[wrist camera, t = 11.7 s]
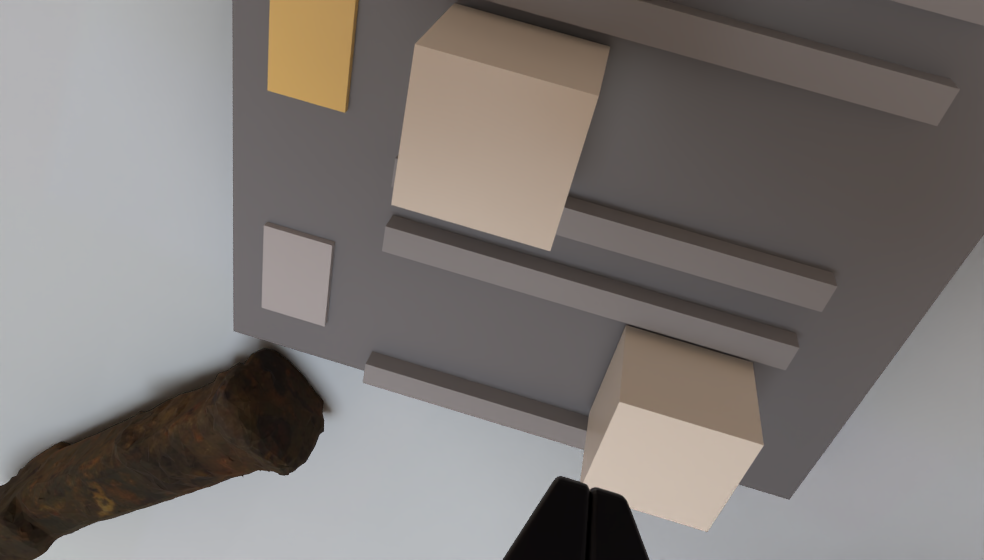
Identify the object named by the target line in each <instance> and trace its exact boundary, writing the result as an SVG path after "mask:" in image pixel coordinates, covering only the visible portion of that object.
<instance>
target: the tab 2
mask: <svg viewBox="0 0 984 560" xmlns="http://www.w3.org/2000/svg"><path fill="white" fill-rule="evenodd" d="M763 446H764V443H763V436H762V428H761V421H760V413H759V406H758V398H757V391H756V384H755V376H754V369H753V362H749V361H746V360H743V359H739V358H736V357H732V356H729V355H726V354H722V353H719V352H716V351H712V350H709V349H705V348H702V347H699V346H695V345H692V344H689V343H685V342H682V341H678V340H675V339H672V338H668V337H665V336H662V335H658V334H655V333H651V332H648V331H645V330H641V329H638V328H635V327H631V326H628V325H626V326H625V329H624V331H623V334H622V336H621V338H620V341H619V343H618V345H617V348H616V350H615V353H614V355H613V357H612V360H611V362H610V365H609V367H608V369H607V372H606V374H605V376H604V379H603V381H602V384H601V386H600V388H599V391H598V393H597V396H596V398H595V400H594V403H593V405H592V407H591V410H590V412H589V418H588V426H587V434H586V441H585V449H584V456H583V464H582V471H581V479H580V482H582V483H585V484H587V485H588V487H589V489H591V488H593V487H598V488H601V489H605V490H608V491H611V492H614V493H618V494H620V495H622V496H623V497H624V498H625V499H626V500H627V502H628V504H629V507H630V508H631V509H634V510H637V511H641V512H644V513H647V514H650V515H654V516H657V517H660V518H663V519H667V520H670V521H673V522H676V523H680V524H683V525H686V526H689V527H693V528H696V529H699V530H702V531H706V532H708V530H709V529H710V527H711V526H712V524H713V522H714V521H715V519H716V518H717V516H718V515H719V513H720V512H721V510H722V509H723V507H724V506H725V504H726V503H727V501H728V499H729V498H730V496H731V495H732V493H733V492H734V490H735V489H736V487H737V486H738V484H739V483H740V481H741V480H742V478H743V476H744V475H745V473H746V472H747V470H748V469H749V467H750V466H751V464H752V463H753V461H754V460H755V458H756V457H757V455H758V453H759V452H760V450H761V449H762V447H763Z"/></svg>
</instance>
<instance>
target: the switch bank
mask: <svg viewBox="0 0 984 560" xmlns="http://www.w3.org/2000/svg"><path fill="white" fill-rule="evenodd" d="M454 3H456V4H460V5H463V6H467V7H470V8H474V9H477V10H481V11H485V12H488V13H492V14H495V15H499V16H503V17H506V18H510V19H513V20H517V21H520V22H524V23H528V24H531V25H535V26H538V27H542V28H545V29H549V30H553V31H556V32H560V33H563V34H567V35H570V36H574V37H578V38H581V39H585V40H588V41H592V42H596V43H599V44H603V45H606V46H610V50H609V55H608V59H607V63H606V68H605V72H604V76H603V80H602V85H601V89H600V93H599V97H598V100H597V104H596V107H595V110H594V113H593V116H592V120H591V123H590V126H589V129H588V132H587V136H586V139H585V142H584V145H583V148H582V152H581V155H580V158H579V161H578V164H577V167H576V171H575V174H574V177H573V180H572V183H571V187H570V190H569V193H568V196H567V199H566V203H565V206H564V209H563V212H562V215H561V219H560V222H559V225H558V228H557V231H556V235H555V238H554V241H553V244H552V247H551V251H547V250H544V249H540V248H537V247H534V246H530V245H527V244H523V243H520V242H517V241H513V240H510V239H506V238H503V237H500V236H496V235H493V234H489V233H486V232H482V231H479V230H476V229H472V228H469V227H465V226H462V225H459V224H455V223H452V222H448V221H445V220H441V219H438V218H435V217H431V216H428V215H424V214H421V213H418V212H414V211H411V210H407V209H404V208H400V207H397V206H394V205H391V202H392V195H393V189H394V182H395V175H396V168H397V162H398V155H399V148H400V141H401V134H402V128H403V121H404V114H405V107H406V101H407V94H408V87H409V80H410V73H411V67H412V60H413V53H414V46H415V43H416V42H417V41H418V40H419V39H420V38H421V37H422V36H423V35H424V34H425V33H426V32H427V31H428V30H429V29H430V28H431V27H432V26H433V25H434V24H435V23H436V22H437V20H438V19H439V18H440V17H441V16H442V15H443V14H444V13H445V12H446V11H447V10H448V9H449V8H450V7H451V6H452V5H453V4H454ZM983 235H984V0H233V302H234V331H235V332H239V333H242V334H245V335H249V336H252V337H255V338H258V339H262V340H265V341H268V342H272V343H275V344H278V345H282V346H285V347H288V348H291V349H295V350H298V351H301V352H305V353H308V354H311V355H314V356H318V357H321V358H324V359H328V360H331V361H334V362H338V363H341V364H344V365H347V366H351V367H354V368H357V369H361V370H364V378H363V383H366V384H369V385H372V386H376V387H379V388H382V389H385V390H389V391H392V392H395V393H399V394H402V395H405V396H408V397H412V398H415V399H418V400H422V401H425V402H428V403H431V404H435V405H438V406H441V407H445V408H448V409H451V410H454V411H458V412H461V413H464V414H468V415H471V416H474V417H477V418H481V419H484V420H487V421H491V422H494V423H497V424H500V425H504V426H507V427H510V428H514V429H517V430H520V431H523V432H527V433H530V434H533V435H537V436H540V437H543V438H547V439H550V440H553V441H556V442H560V443H563V444H566V445H570V446H573V447H576V448H579V449H583V450H584V449H585V441H586V434H587V426H588V418H589V412H590V410H591V407H592V405H593V403H594V400H595V398H596V396H597V393H598V391H599V388H600V386H601V384H602V381H603V379H604V376H605V374H606V372H607V369H608V367H609V365H610V362H611V360H612V357H613V355H614V353H615V350H616V348H617V345H618V343H619V341H620V338H621V336H622V334H623V331H624V329H625V326H626V325H628V326H631V327H635V328H638V329H641V330H645V331H648V332H651V333H655V334H658V335H662V336H665V337H668V338H672V339H675V340H678V341H682V342H685V343H689V344H692V345H695V346H699V347H702V348H705V349H709V350H712V351H716V352H719V353H722V354H726V355H729V356H732V357H736V358H739V359H743V360H746V361H749V362H753V369H754V376H755V384H756V391H757V398H758V406H759V413H760V421H761V428H762V436H763V443H764V446H763V447H762V449H761V450H760V452H759V453H758V455H757V457H756V458H755V460H754V461H753V463H752V464H751V466H750V467H749V469H748V470H747V472H746V473H745V475H744V476H743V478H742V480H741V481H740V483H739V484H740V485H743V486H746V487H750V488H753V489H756V490H759V491H763V492H766V493H769V494H773V495H776V496H779V497H782V498H786V499H790V498H791V497H792V495H793V494H794V492H795V491H796V490H797V488H798V487H799V486H800V484H801V483H802V482H803V480H804V479H805V477H806V476H807V475H808V473H809V472H810V471H811V469H812V468H813V467H814V465H815V464H816V462H817V461H818V460H819V458H820V457H821V456H822V454H823V453H824V452H825V450H826V449H827V447H828V446H829V445H830V443H831V442H832V441H833V439H834V438H835V437H836V435H837V434H838V432H839V431H840V430H841V428H842V427H843V426H844V424H845V423H846V421H847V420H848V419H849V417H850V416H851V415H852V413H853V412H854V411H855V409H856V408H857V406H858V405H859V404H860V402H861V401H862V400H863V398H864V397H865V396H866V394H867V393H868V391H869V390H870V389H871V387H872V386H873V385H874V383H875V382H876V381H877V379H878V378H879V376H880V375H881V374H882V372H883V371H884V370H885V368H886V367H887V366H888V364H889V363H890V361H891V360H892V359H893V357H894V356H895V355H896V353H897V352H898V351H899V349H900V348H901V346H902V345H903V344H904V342H905V341H906V340H907V338H908V337H909V336H910V334H911V333H912V331H913V330H914V329H915V327H916V326H917V325H918V323H919V322H920V320H921V319H922V318H923V316H924V315H925V314H926V312H927V311H928V310H929V308H930V307H931V305H932V304H933V303H934V301H935V300H936V299H937V297H938V296H939V295H940V293H941V292H942V290H943V289H944V288H945V286H946V285H947V284H948V282H949V281H950V280H951V278H952V277H953V275H954V274H955V273H956V271H957V270H958V269H959V267H960V266H961V265H962V263H963V262H964V260H965V259H966V258H967V256H968V255H969V254H970V252H971V251H972V250H973V248H974V247H975V245H976V244H977V243H978V241H979V240H980V239H981V237H982V236H983Z"/></svg>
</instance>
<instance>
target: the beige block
mask: <svg viewBox="0 0 984 560" xmlns="http://www.w3.org/2000/svg"><path fill="white" fill-rule="evenodd" d="M609 50H610V46H606V45H603V44H599V43H596V42H592V41H588V40H585V39H581V38H578V37H574V36H570V35H567V34H563V33H560V32H556V31H553V30H549V29H545V28H542V27H538V26H535V25H531V24H528V23H524V22H520V21H517V20H513V19H510V18H506V17H503V16H499V15H495V14H492V13H488V12H485V11H481V10H477V9H474V8H470V7H467V6H463V5H460V4H456V3H454V4H453V5H452V6H451V7H450V8H449V9H448V10H447V11H446V12H445V13H444V14H443V15H442V16H441V17H440V18H439V19H438V20H437V22H436V23H435V24H434V25H433V26H432V27H431V28H430V29H429V30H428V31H427V32H426V33H425V34H424V35H423V36H422V37H421V38H420V39H419V40H418V41H417V42H416V43H415V46H414V53H413V60H412V67H411V73H410V80H409V87H408V94H407V101H406V107H405V114H404V121H403V128H402V134H401V141H400V148H399V155H398V162H397V168H396V175H395V182H394V189H393V195H392V202H391V205H394V206H397V207H400V208H404V209H407V210H411V211H414V212H418V213H421V214H424V215H428V216H431V217H435V218H438V219H441V220H445V221H448V222H452V223H455V224H459V225H462V226H465V227H469V228H472V229H476V230H479V231H482V232H486V233H489V234H493V235H496V236H500V237H503V238H506V239H510V240H513V241H517V242H520V243H523V244H527V245H530V246H534V247H537V248H540V249H544V250H547V251H551V247H552V244H553V241H554V238H555V235H556V231H557V228H558V225H559V222H560V219H561V215H562V212H563V209H564V206H565V203H566V199H567V196H568V193H569V190H570V187H571V183H572V180H573V177H574V174H575V171H576V167H577V164H578V161H579V158H580V155H581V152H582V148H583V145H584V142H585V139H586V136H587V132H588V129H589V126H590V123H591V120H592V116H593V113H594V110H595V107H596V104H597V100H598V97H599V93H600V89H601V85H602V80H603V76H604V72H605V68H606V63H607V59H608V55H609Z"/></svg>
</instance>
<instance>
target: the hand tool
mask: <svg viewBox="0 0 984 560" xmlns="http://www.w3.org/2000/svg"><path fill="white" fill-rule="evenodd" d="M322 413H323V401H322V399H321V398H320V396H319V395H318V394H317V393H316V392H315V391H314V390H313V389H312V387H311V386H310V385H309V384H308V382H307V380H306V379H305V377H304V376H303V375H302V374H301V373H300V372H299V371H298V369H297V368H296V367H295V366H294V365H293V364H292V363H291V362H290V361H289V360H287V359H286V358H284V357H283V356H282V355H281V354H279V353H278V352H277V351H274V350H270V349H262V350H259V351H257V352H255V353H253V354H251V356H250V357H249V358H248V360H247V361H246V363H245V364H243V363H239V364H237V365H235V366H234V367H232V368H231V369H230V370H227V371H225V372H222V373H219V374H218V375H217V377H216V379H215V381H214V382H212V383H210V384H208V385H206V386H204V387H202V388H200V389H197V390H195V391H191V392H187V393H183V394H180V395H178V396H177V397H175V398H172V399H169V400H167V401H165V402H163V403H162V404H160V405H158V406H157V407H155V408H153V409H152V410H150V411H148V412H143V411H140V412H139V413H138V414H137V415H136V416H134V417H132V418H130V419H128V420H126V421H124V422H122V423H119V424H116V425H114V426H112V427H111V428H109V429H106V430H104V431H102V432H100V433H97V434H95V435H93V436H90V437H88V438H85V439H83V440H81V441H79V442H76V443H74V444H69V443H65V442H60V443H58V444H56V445H54V446H52V447H50V448H49V449H47V450H46V451H44V452H43V453H41V454H40V455H38V456H37V457H35V458H34V459H32V460H31V461H30V462H29V463H28V464H27V465H26V466H25V467H23V468H22V469H20V470H19V473H18V475H17V476H14V477H12V478H11V479H10V481H9V482H7V483H6V484H5V485H2V486H0V560H33V559H35V558H37V557H39V556H41V555H42V554H43V553H45V552H46V551H47V550H48V549H49V547H50V546H51V545H52V543H53V542H54V541H55V540H56V539H58V538H60V537H61V536H63V535H67V534H70V533H73V532H75V531H77V530H79V529H81V528H83V527H85V526H88V525H90V524H93V523H95V522H98V521H103V520H108V519H112V518H115V517H118V516H121V515H124V514H127V513H130V512H133V511H136V510H139V509H143V508H147V507H150V506H152V505H156V504H158V503H161V502H164V501H168V500H172V499H174V498H176V497H179V496H182V495H185V494H189V493H192V492H194V491H197V490H200V489H203V488H206V487H211V486H213V485H215V484H218V483H220V482H223V481H225V480H228V479H230V478H233V477H238V476H243V475H246V474H250V473H252V472H254V471H257V470H260V471H261V470H264V471H269V472H270V471H274V472H276V473H278V474H279V475H289V473H291V472H293V471H295V470H296V469H297V468H298V467H299V466H301V465H302V464H304V463H305V462H306V461H307V459H308V457H309V456H310V454H311V452H312V451H313V449H314V447H315V445H316V442H317V440H318V437H319V435H320V434H321V433H322V432H324V418H323V414H322Z"/></svg>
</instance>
